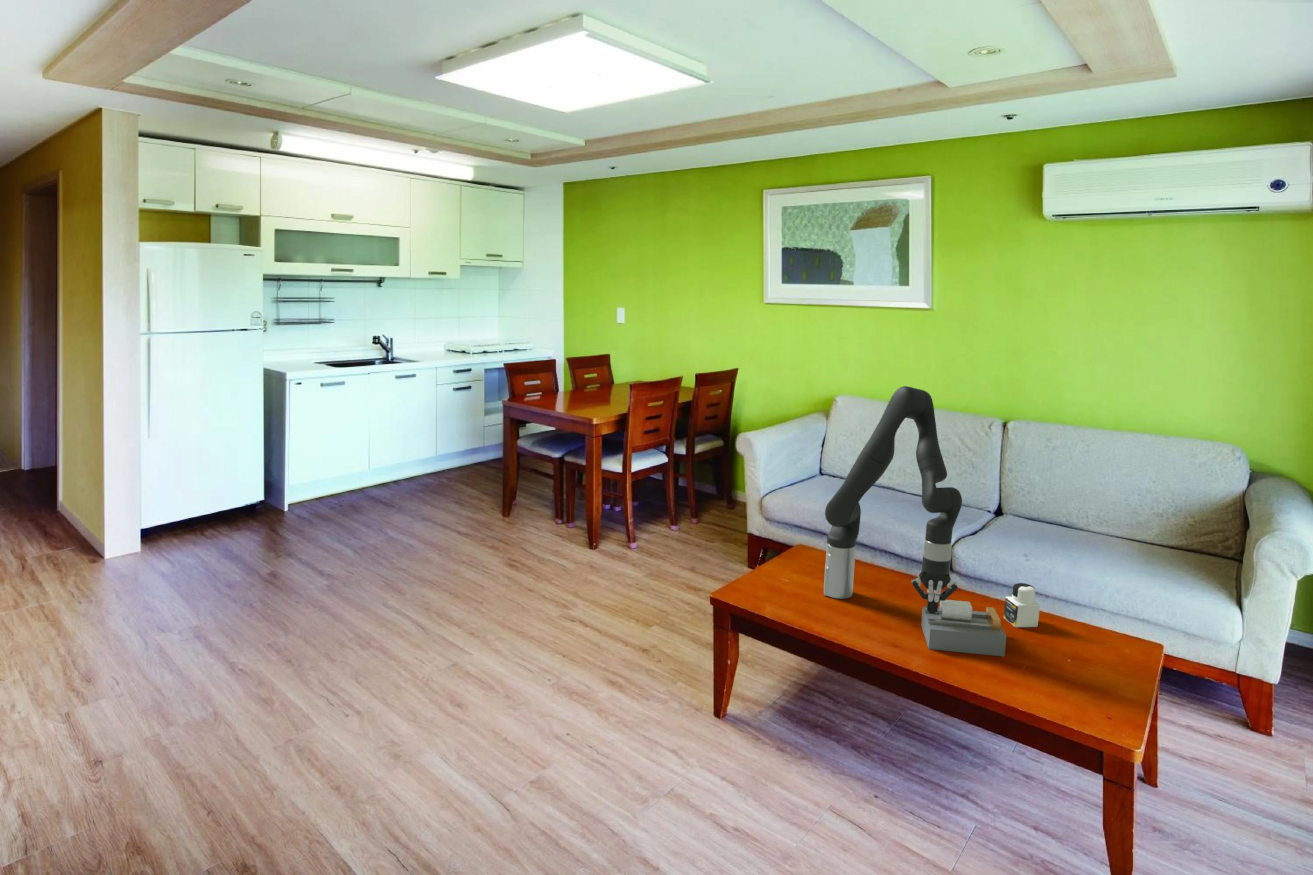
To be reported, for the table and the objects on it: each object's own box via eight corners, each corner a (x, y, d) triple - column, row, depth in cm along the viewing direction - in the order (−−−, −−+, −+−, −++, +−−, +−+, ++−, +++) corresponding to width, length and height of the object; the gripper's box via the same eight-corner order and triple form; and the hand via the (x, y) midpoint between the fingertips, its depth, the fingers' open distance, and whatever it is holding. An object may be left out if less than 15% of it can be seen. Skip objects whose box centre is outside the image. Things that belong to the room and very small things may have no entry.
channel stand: (928, 648, 217) (931, 618, 215) (921, 624, 233) (923, 596, 231) (1004, 656, 213) (1007, 626, 212) (991, 631, 229) (994, 603, 227)
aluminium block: (941, 621, 221) (942, 605, 220) (938, 615, 225) (940, 599, 224) (970, 624, 219) (972, 608, 218) (967, 617, 224) (969, 601, 223)
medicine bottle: (1002, 617, 239) (1006, 581, 236) (1024, 617, 239) (1029, 580, 237) (1015, 627, 232) (1019, 590, 229) (1038, 627, 232) (1042, 589, 230)
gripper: (959, 553, 222) (953, 609, 225) (911, 549, 224) (906, 605, 228) (963, 562, 215) (957, 620, 218) (914, 558, 217) (909, 615, 221)
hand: (931, 612), depth 223 cm, fingers closed
